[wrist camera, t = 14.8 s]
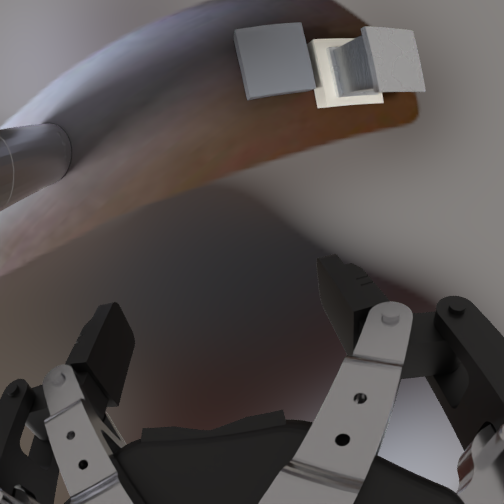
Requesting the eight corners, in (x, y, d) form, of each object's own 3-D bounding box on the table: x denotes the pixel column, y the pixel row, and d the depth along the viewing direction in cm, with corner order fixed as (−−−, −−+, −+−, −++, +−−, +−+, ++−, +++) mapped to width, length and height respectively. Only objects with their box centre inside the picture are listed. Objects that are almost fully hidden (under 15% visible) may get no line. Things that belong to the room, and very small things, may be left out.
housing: (336, 97, 32) (379, 92, 22) (325, 48, 29) (365, 26, 19) (374, 94, 32) (425, 91, 22) (365, 48, 29) (412, 30, 19)
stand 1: (247, 100, 35) (250, 97, 31) (233, 38, 31) (234, 29, 28) (307, 91, 35) (316, 88, 31) (293, 30, 31) (301, 22, 28)
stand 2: (317, 108, 36) (327, 107, 33) (304, 46, 32) (313, 39, 29) (369, 103, 36) (383, 102, 33) (358, 44, 32) (370, 38, 29)
